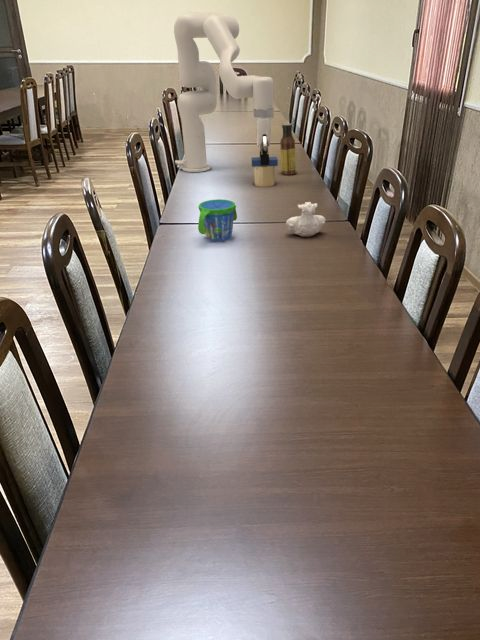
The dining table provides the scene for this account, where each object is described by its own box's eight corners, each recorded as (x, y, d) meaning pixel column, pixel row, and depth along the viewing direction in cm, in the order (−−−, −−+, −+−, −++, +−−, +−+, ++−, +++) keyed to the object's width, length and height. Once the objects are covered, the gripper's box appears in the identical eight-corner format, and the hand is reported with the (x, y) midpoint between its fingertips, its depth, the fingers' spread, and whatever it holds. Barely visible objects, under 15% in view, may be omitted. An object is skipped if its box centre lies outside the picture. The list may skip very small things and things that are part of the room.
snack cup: (213, 249, 152) (210, 213, 146) (187, 241, 158) (184, 207, 152) (249, 234, 162) (248, 201, 157) (224, 228, 168) (222, 195, 163)
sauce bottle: (296, 172, 233) (296, 122, 223) (295, 175, 227) (295, 125, 217) (281, 172, 233) (280, 122, 223) (279, 175, 228) (279, 125, 218)
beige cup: (255, 187, 212) (254, 167, 208) (254, 182, 219) (253, 163, 215) (275, 186, 212) (275, 166, 208) (273, 181, 219) (273, 162, 215)
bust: (286, 243, 161) (292, 221, 150) (282, 222, 163) (287, 199, 153) (325, 240, 163) (333, 218, 152) (320, 219, 165) (328, 196, 155)
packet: (252, 166, 209) (251, 160, 208) (251, 163, 214) (251, 157, 212) (277, 166, 209) (277, 159, 208) (276, 163, 214) (276, 156, 213)
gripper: (252, 111, 209) (254, 159, 218) (254, 116, 194) (255, 168, 204) (272, 110, 209) (272, 158, 219) (275, 116, 195) (275, 167, 204)
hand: (264, 162), depth 211 cm, fingers closed on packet, 5 cm apart
